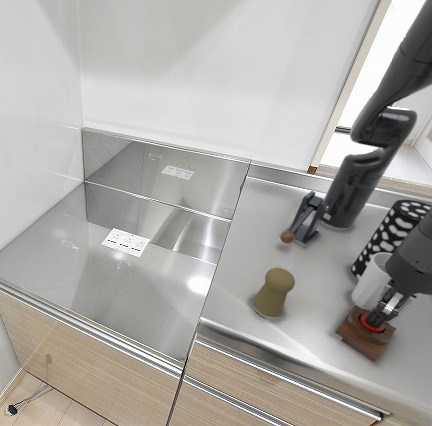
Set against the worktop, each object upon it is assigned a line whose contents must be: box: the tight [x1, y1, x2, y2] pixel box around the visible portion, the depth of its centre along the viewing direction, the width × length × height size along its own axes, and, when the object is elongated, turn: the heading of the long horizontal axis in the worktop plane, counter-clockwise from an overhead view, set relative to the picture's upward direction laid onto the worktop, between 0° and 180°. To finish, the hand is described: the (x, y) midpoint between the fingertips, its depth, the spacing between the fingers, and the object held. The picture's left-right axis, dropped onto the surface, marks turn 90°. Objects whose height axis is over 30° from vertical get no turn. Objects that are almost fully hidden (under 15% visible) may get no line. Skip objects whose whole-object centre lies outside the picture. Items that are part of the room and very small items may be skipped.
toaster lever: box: [279, 195, 324, 245], centre depth 75 cm, size 15×3×3 cm, turn 128°
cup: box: [351, 252, 392, 311], centre depth 60 cm, size 8×8×12 cm
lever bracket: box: [285, 190, 332, 245], centre depth 79 cm, size 8×6×13 cm
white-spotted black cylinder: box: [350, 199, 432, 281], centre depth 64 cm, size 8×8×20 cm
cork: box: [252, 267, 296, 320], centre depth 61 cm, size 6×6×11 cm
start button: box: [359, 314, 385, 334], centre depth 56 cm, size 4×4×2 cm
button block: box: [334, 304, 397, 363], centre depth 57 cm, size 9×7×4 cm
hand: (372, 322), depth 56 cm, fingers closed
